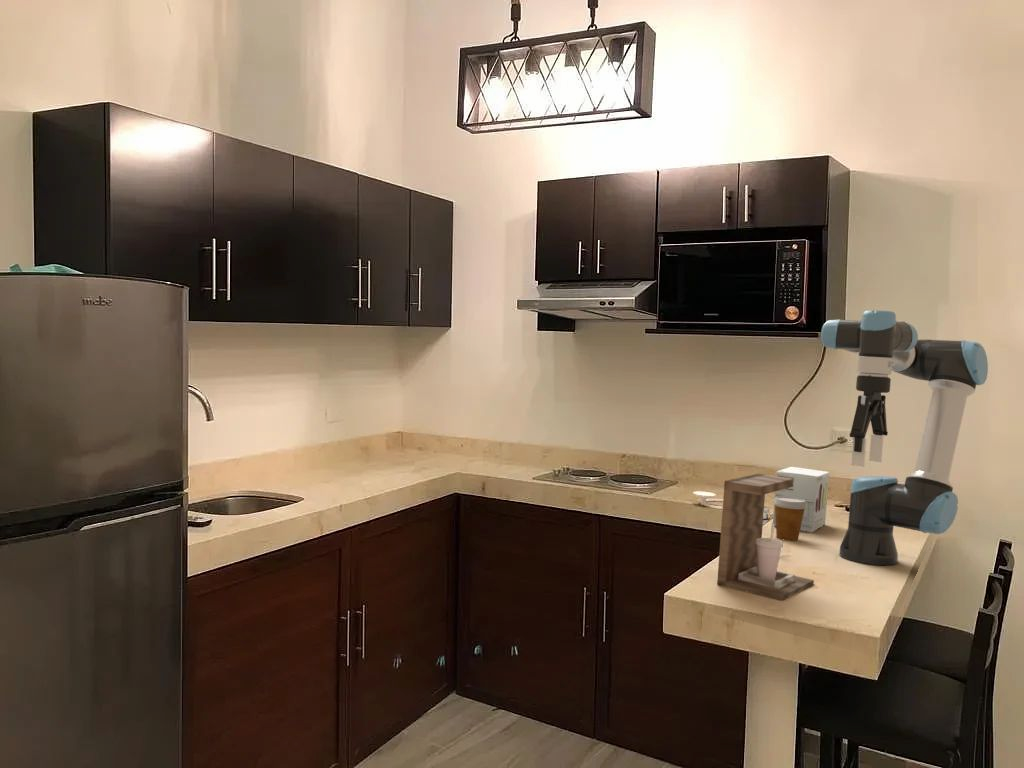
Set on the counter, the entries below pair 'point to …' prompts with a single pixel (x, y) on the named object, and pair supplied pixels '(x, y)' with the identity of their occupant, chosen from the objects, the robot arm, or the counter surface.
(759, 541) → the smoothie
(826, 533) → the counter surface
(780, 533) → the disposable coffee cup
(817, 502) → the supplement box
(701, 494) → the hand towel holder
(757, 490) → the overhang shelf
